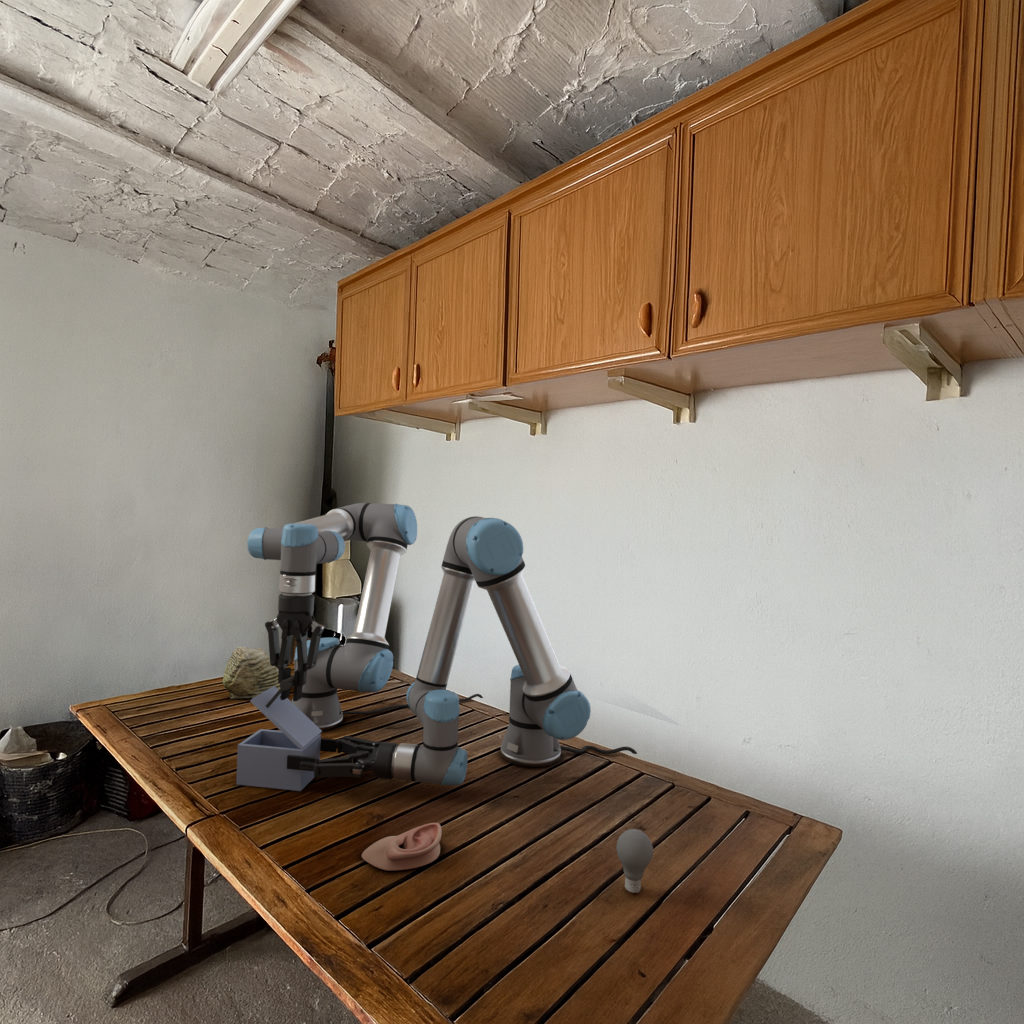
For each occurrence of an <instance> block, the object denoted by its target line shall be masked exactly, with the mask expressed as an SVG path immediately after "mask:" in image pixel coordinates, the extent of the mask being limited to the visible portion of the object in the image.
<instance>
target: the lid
mask: <svg viewBox="0 0 1024 1024" xmlns="http://www.w3.org/2000/svg"><path fill="white" fill-rule="evenodd" d="M289 688H290V690H291V689H293V688H294V674H292V675H291V676H290V677H288V678H287V679H285V680H283V681H282V682H281V683H280V689H279V690H278V689H277V688H276V687H275V686H273V687H271V688H270V689H268V690H266V691H265V692H263V693H261V694H259V695H258V696H256V697H252V698H251V700H250V703H251V704H252V705H253V706H254V707H255V708H256V709H257V710H258V711H260V712H261V714H262V715H263V716H265V718H267V719H268V720H269V721H270V722H271V723H273V725H274V726H275V727H276V728H277V729H278V730H279V731H282V732H283V733H284V734H285V735H286V736H287V737H288V738H289V739H290V740H291V741H292V742H293V743H294V744H295V745H296V746H297V747H298V748H300V749H301V750H302V749H303V748H304V747H305V746H306V745H308V744H309V743H310V742H311V741H312V740H313V739H314V738H316V737H317V736H318V735H321V733H323V731H322V730H321V729H319V728H318V727H317V726H316V725H315V724H314V723H313V722H312V721H311V720H310V719H309V718H308V717H307V716H306V715H305V714H304V713H303V712H301V711H300V710H299V709H298V708H297V707H296V706H295V705H294V704H293V703H292V700H290V699H289V697H288V698H286V699H285V700H281V692H282V691H283V690H284V691H286V690H288V689H289Z"/></svg>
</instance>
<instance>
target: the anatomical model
mask: <svg viewBox="0 0 1024 1024" xmlns="http://www.w3.org/2000/svg"><path fill="white" fill-rule="evenodd" d="M442 835H443V829H442V826H441V824H440V823H439V822H430V823H425V824H422V825H419V826H417V827H414V828H412V829H410V830H407V831H404V832H402V833H399V834H397V835H389V836H385V837H383V838H381V839H379V840H377V841H375V842H373V843H372V844H370V845H369V846H368V847H367V848H366V849H364V851H362V852H361V853H362V854H361V858H362V859H363V861H365V862H366V863H368V864H370V865H371V866H373V867H375V868H377V869H379V870H384V871H387V872H389V871H390V872H391V871H403V870H412V869H416V868H419V867H423V866H426V865H428V864H431V863H433V862H434V861H435V860H437V859H439V856H440V855H441V844H440V842H441V839H442Z"/></svg>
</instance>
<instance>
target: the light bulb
mask: <svg viewBox="0 0 1024 1024" xmlns="http://www.w3.org/2000/svg"><path fill="white" fill-rule="evenodd" d="M615 849H616V854H617V857H618V859H619V861H620V863H621V865H622V867H623V873H624V874H623V875H624V876H625V878H624V888H625V890H627V891H628V892H630V893H634V894H635V893H639V892H640V891H641V889H642V887H641V886H642V879H643V877H644V875H645V871H646V868H647V867H648V866H649V864H650V863H651V861H652V859H653V855H654V847H653V843H652V841H651V838H649V836H648V835H647V834H646V833H645V832H643V831H642V830H641V829H636V828H629V829H627V830H625V831H623V832H622V833H621V834H620V835H619V837H618V839H617V841H616V847H615Z"/></svg>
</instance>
